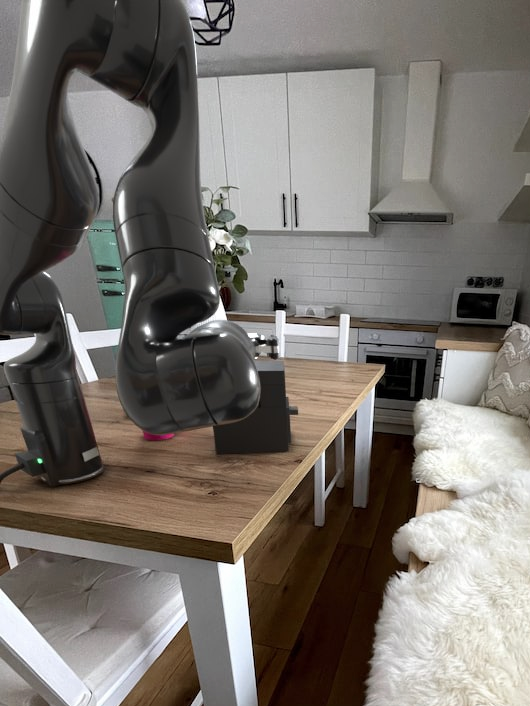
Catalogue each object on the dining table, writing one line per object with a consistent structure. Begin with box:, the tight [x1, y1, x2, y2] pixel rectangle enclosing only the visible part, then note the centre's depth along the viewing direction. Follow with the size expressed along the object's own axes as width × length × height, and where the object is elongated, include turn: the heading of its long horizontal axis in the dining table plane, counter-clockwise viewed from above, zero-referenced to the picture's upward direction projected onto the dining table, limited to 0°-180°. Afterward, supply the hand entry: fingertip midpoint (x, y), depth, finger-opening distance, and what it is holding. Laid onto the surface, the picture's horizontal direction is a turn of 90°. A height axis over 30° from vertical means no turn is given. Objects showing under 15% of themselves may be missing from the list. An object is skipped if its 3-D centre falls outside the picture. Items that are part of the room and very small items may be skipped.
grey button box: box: [212, 360, 299, 455], centre depth 86 cm, size 18×13×17 cm
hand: (234, 340), depth 61 cm, fingers open, 7 cm apart
